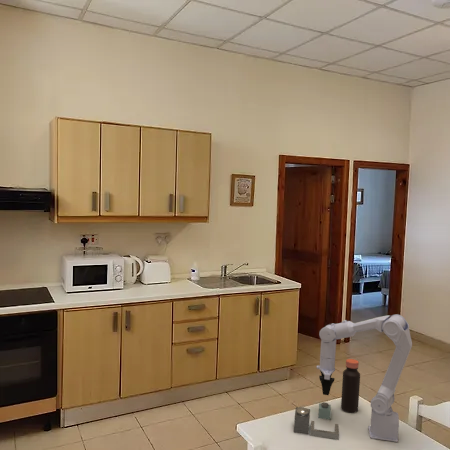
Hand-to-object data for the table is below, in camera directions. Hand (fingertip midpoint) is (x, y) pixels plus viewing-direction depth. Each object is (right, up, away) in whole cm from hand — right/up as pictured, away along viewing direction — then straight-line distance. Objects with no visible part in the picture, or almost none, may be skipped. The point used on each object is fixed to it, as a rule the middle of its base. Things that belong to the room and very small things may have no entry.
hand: (325, 390), depth 174 cm
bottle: (+11, -11, +7) cm, 17 cm away
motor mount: (-6, -11, -11) cm, 16 cm away
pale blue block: (0, -11, +1) cm, 10 cm away
